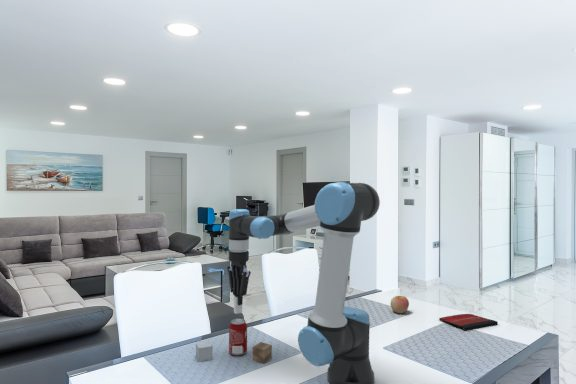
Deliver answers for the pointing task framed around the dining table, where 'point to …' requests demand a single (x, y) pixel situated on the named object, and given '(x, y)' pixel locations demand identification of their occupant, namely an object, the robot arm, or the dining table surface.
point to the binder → (468, 321)
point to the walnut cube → (262, 352)
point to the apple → (399, 304)
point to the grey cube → (204, 351)
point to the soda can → (238, 337)
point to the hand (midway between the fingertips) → (238, 312)
